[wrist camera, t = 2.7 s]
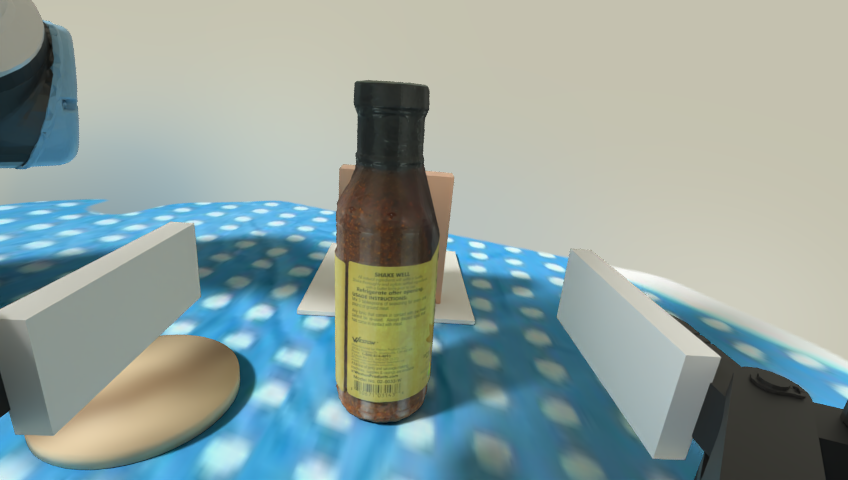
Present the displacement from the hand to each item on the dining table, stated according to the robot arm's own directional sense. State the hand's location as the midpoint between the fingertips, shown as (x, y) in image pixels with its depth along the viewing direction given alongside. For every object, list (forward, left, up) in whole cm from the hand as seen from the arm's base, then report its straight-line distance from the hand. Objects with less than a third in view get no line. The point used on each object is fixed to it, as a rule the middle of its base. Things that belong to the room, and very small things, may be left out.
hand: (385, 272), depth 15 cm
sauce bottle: (-5, +9, -13) cm, 17 cm away
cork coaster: (-17, 0, -13) cm, 22 cm away
